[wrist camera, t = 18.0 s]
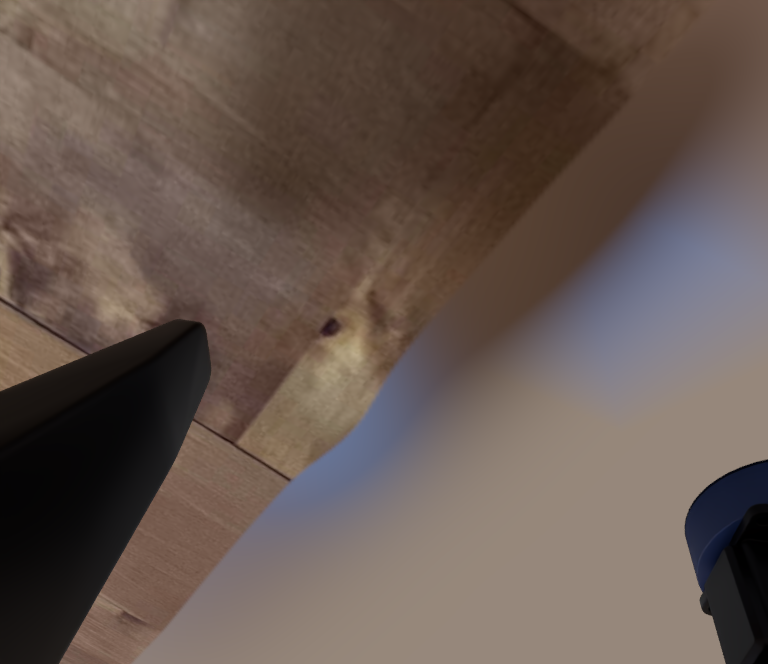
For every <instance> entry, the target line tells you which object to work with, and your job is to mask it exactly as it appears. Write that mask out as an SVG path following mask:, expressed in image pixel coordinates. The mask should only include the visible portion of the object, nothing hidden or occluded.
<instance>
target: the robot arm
mask: <svg viewBox="0 0 768 664" xmlns="http://www.w3.org/2000/svg"><path fill="white" fill-rule="evenodd" d="M210 375H211V361H210V354H209V347H208V340H207V333H206V329H205V327H204V325H203V324H202V323H200V322H196V321H189V320H181V319H176V320H173V321H170V322H168V323H166V324H163V325H161V326H158V327H156V328H153V329H151V330H149V331H146V332H144V333H141V334H139V335H136V336H134V337H131V338H129V339H127V340H124V341H122V342H119V343H117V344H114V345H112V346H110V347H107V348H105V349H102V350H100V351H97V352H95V353H93V354H90V355H88V356H85V357H83V358H80V359H78V360H76V361H73V362H71V363H68V364H66V365H63V366H61V367H59V368H56V369H54V370H51V371H49V372H46V373H44V374H41V375H39V376H37V377H34V378H32V379H29V380H27V381H24V382H22V383H20V384H17V385H15V386H12V387H10V388H7V389H5V390H3V391H0V664H59V662H60V661H61V659H62V657H63V655H64V654H65V652H66V650H67V649H68V647H69V645H70V643H71V642H72V640H73V638H74V636H75V635H76V633H77V631H78V629H79V628H80V626H81V624H82V622H83V621H84V619H85V617H86V615H87V614H88V612H89V610H90V608H91V607H92V605H93V603H94V601H95V600H96V598H97V596H98V594H99V593H100V591H101V589H102V587H103V586H104V584H105V582H106V580H107V579H108V577H109V575H110V573H111V572H112V570H113V568H114V566H115V565H116V563H117V561H118V560H119V558H120V556H121V554H122V553H123V551H124V549H125V547H126V546H127V544H128V542H129V540H130V539H131V537H132V535H133V533H134V532H135V530H136V528H137V526H138V525H139V523H140V521H141V519H142V518H143V516H144V514H145V512H146V511H147V509H148V507H149V505H150V504H151V502H152V500H153V498H154V497H155V495H156V493H157V491H158V490H159V488H160V486H161V484H162V483H163V481H164V479H165V477H166V476H167V474H168V472H169V470H170V468H171V467H172V465H173V463H174V461H175V459H176V457H177V454H178V452H179V450H180V448H181V446H182V443H183V441H184V439H185V436H186V434H187V432H188V429H189V427H190V425H191V422H192V420H193V418H194V415H195V413H196V411H197V408H198V406H199V404H200V401H201V399H202V397H203V394H204V392H205V389H206V387H207V385H208V382H209V380H210ZM763 516H765V517H763ZM704 588H705V590H704V592H703V594H702V595H701V597H700V604H701V608H702V610H703V612H704V613H706V614H708V615H711V616H712V617H713V620H714V623H715V627H716V630H717V634H718V638H719V641H720V645H721V648H722V652H723V655H724V659H725V662H726V664H768V504H755V505H753V506H751V507H749V508H748V510H747V511H746V513H745V515H744V517H743V518H742V520H741V522H740V524H739V526H738V528H737V530H736V532H735V533H734V535H733V537H732V539H731V541H730V543H729V545H727V546H726V547H725V548H724V549H723V550H722V552H721V554H720V556H719V558H718V560H717V562H716V564H715V566H714V567H713V569H712V571H711V573H710V575H709V577H708V579H707V581H706V583H705V585H704Z"/></svg>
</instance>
